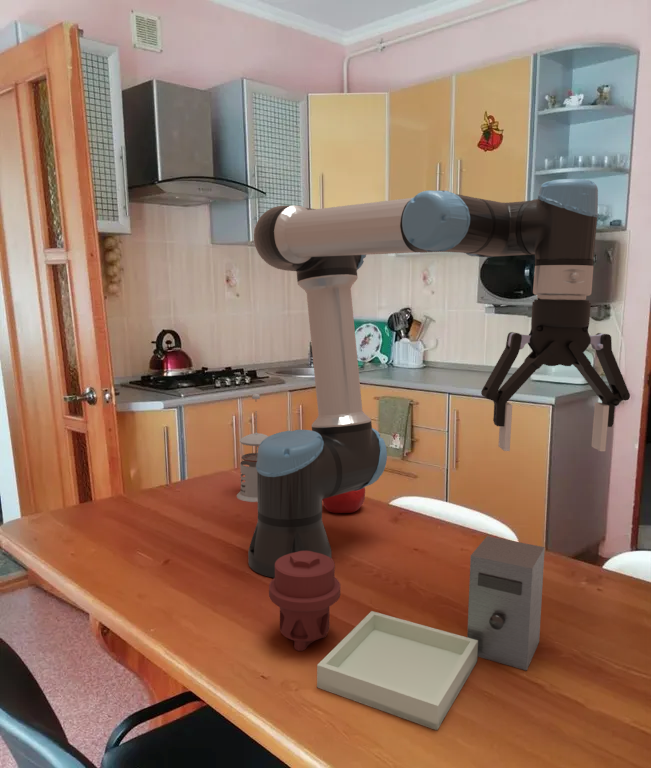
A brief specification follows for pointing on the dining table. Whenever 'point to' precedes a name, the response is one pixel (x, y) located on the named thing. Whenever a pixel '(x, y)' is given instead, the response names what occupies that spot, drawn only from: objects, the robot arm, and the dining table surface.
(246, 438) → the french press
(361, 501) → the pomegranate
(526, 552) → the unit
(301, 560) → the mechanical component
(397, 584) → the dining table surface
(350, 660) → the tray
